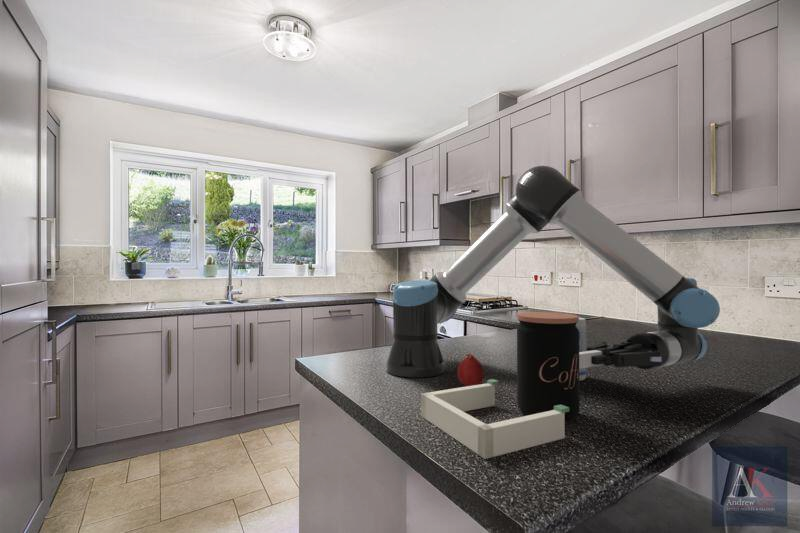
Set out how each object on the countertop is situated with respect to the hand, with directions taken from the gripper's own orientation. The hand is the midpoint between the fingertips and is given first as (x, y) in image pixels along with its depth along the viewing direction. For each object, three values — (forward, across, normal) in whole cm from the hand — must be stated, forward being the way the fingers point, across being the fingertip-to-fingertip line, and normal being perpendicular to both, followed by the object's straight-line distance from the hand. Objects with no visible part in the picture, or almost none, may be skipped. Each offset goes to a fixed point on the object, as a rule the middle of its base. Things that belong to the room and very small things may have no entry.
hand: (576, 360), depth 74 cm
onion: (+11, +18, -9) cm, 23 cm away
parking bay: (+20, 0, -9) cm, 22 cm away
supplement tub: (-16, +16, -9) cm, 25 cm away
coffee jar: (+7, 0, -9) cm, 12 cm away
